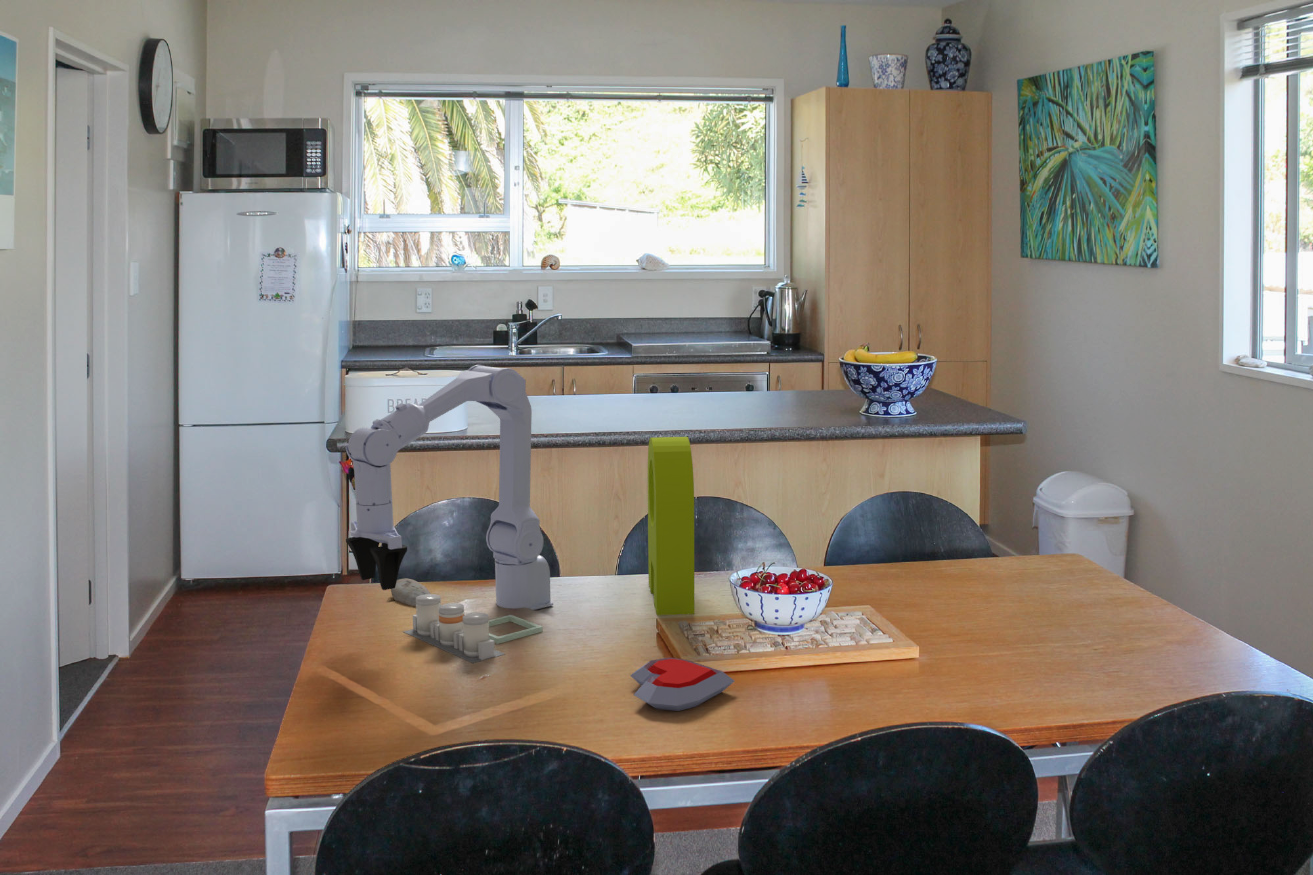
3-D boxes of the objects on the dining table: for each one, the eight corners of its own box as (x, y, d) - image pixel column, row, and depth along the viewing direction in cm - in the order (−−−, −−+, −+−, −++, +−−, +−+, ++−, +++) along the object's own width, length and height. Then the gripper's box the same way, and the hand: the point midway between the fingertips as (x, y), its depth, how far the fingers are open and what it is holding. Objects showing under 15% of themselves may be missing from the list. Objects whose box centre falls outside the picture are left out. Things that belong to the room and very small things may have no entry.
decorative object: (648, 583, 226) (647, 430, 221) (683, 582, 226) (682, 429, 222) (656, 615, 206) (655, 447, 202) (694, 614, 207) (693, 446, 202)
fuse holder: (434, 629, 199) (433, 609, 199) (505, 660, 184) (504, 638, 183) (403, 637, 195) (402, 617, 195) (473, 669, 180) (472, 647, 179)
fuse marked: (456, 636, 192) (455, 601, 191) (470, 642, 189) (469, 606, 188) (434, 642, 190) (433, 606, 189) (448, 648, 187) (447, 612, 186)
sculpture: (726, 672, 178) (628, 676, 177) (726, 649, 178) (628, 652, 177) (744, 715, 162) (635, 719, 160) (744, 690, 161) (635, 694, 160)
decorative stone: (412, 617, 207) (411, 598, 206) (381, 596, 220) (380, 578, 219) (444, 611, 210) (443, 593, 210) (412, 590, 223) (412, 573, 223)
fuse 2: (480, 647, 187) (479, 610, 186) (494, 653, 184) (493, 616, 183) (459, 652, 185) (457, 616, 184) (473, 659, 182) (471, 621, 181)
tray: (511, 624, 202) (510, 614, 201) (542, 636, 195) (542, 626, 195) (466, 636, 196) (466, 625, 195) (497, 649, 189) (497, 638, 189)
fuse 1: (433, 627, 197) (432, 592, 196) (446, 632, 194) (445, 597, 194) (412, 632, 195) (411, 597, 194) (425, 637, 192) (424, 602, 191)
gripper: (332, 498, 192) (336, 578, 194) (370, 513, 181) (374, 598, 183) (372, 492, 196) (375, 571, 199) (412, 506, 185) (415, 589, 187)
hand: (378, 583), depth 191 cm, fingers open, 7 cm apart
